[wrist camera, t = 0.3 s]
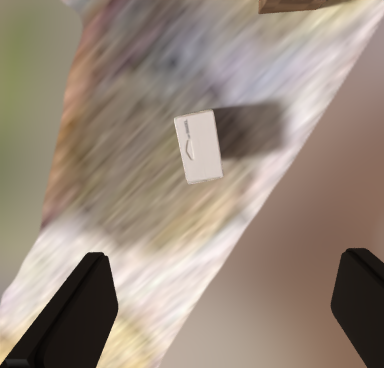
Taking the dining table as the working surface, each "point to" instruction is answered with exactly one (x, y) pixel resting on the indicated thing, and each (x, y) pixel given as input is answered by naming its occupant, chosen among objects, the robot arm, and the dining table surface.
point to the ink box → (199, 146)
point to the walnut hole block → (288, 5)
